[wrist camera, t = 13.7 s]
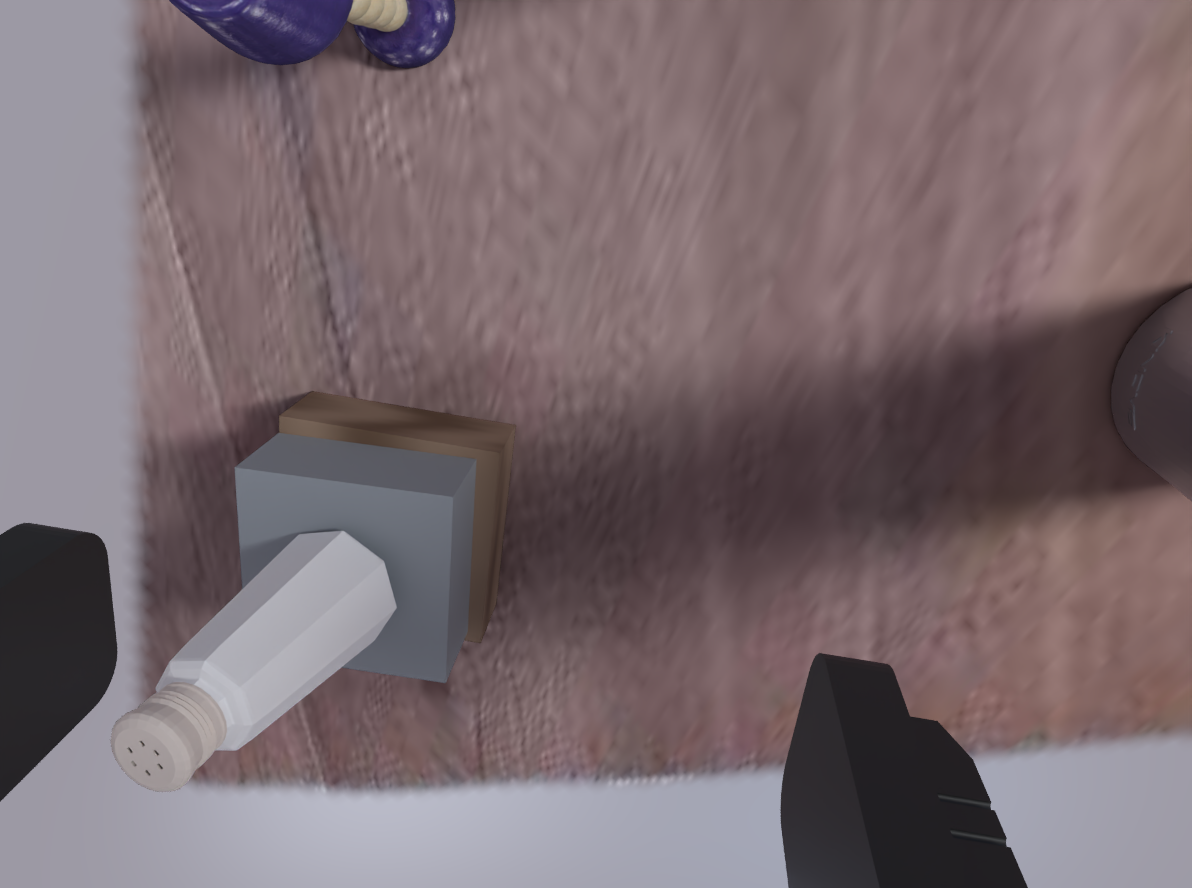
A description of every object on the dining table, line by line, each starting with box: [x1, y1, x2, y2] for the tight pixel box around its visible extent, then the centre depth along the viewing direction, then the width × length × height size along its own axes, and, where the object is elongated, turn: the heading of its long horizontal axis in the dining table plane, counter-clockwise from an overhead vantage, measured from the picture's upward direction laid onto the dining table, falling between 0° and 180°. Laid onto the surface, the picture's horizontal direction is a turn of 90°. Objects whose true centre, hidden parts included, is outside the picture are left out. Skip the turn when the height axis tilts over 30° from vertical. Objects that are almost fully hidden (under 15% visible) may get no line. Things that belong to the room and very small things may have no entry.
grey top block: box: [235, 433, 477, 683], centre depth 38 cm, size 9×9×4 cm
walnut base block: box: [279, 391, 516, 643], centre depth 42 cm, size 10×10×4 cm
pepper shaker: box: [111, 531, 397, 792], centre depth 31 cm, size 5×5×11 cm
